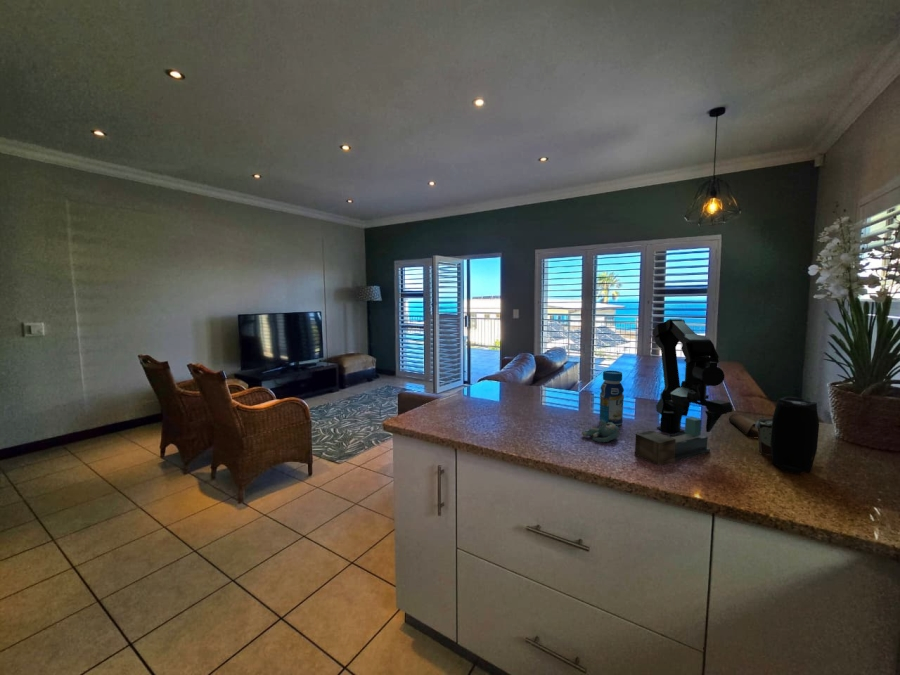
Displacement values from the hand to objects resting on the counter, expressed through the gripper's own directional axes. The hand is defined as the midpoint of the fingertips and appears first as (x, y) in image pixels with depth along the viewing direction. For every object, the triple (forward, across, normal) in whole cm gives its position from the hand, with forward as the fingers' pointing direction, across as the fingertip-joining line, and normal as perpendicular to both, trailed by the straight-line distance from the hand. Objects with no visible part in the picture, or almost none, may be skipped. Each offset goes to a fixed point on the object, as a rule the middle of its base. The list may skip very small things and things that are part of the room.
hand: (692, 427), depth 114 cm
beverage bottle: (+7, -29, -4) cm, 30 cm away
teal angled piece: (+6, 0, -5) cm, 8 cm away
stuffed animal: (+7, -18, -20) cm, 28 cm away
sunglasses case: (+8, -2, +36) cm, 37 cm away
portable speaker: (+7, +20, +11) cm, 24 cm away
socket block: (+7, 0, -17) cm, 18 cm away
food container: (+7, +12, +20) cm, 25 cm away
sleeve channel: (+7, 0, -6) cm, 9 cm away
